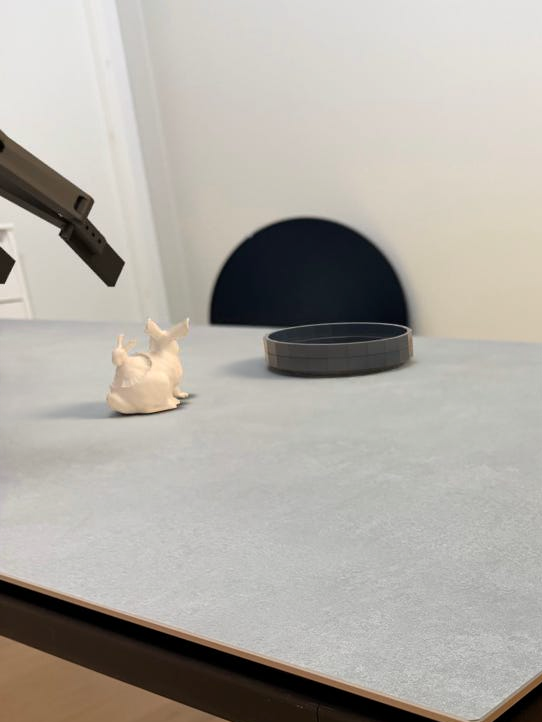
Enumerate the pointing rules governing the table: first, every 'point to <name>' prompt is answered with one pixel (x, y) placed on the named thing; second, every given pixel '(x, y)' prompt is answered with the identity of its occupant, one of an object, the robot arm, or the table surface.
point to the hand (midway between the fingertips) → (60, 273)
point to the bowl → (338, 348)
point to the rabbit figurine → (148, 372)
